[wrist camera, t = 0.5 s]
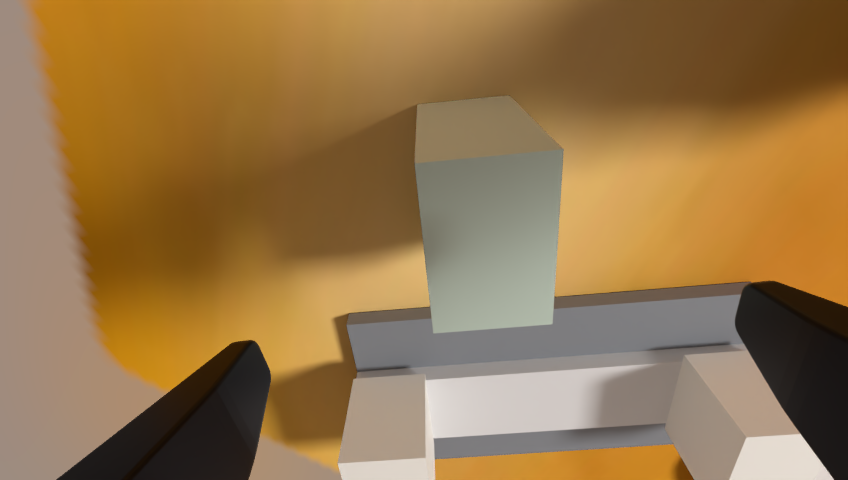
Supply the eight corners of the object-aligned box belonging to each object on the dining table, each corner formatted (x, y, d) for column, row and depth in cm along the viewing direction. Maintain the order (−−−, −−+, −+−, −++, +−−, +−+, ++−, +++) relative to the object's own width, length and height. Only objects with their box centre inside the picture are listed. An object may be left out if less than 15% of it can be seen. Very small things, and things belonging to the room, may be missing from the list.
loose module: (509, 95, 18) (563, 149, 11) (509, 219, 21) (552, 324, 14) (417, 104, 18) (414, 163, 11) (429, 226, 21) (433, 333, 14)
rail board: (750, 281, 23) (870, 381, 17) (702, 428, 29) (778, 542, 23) (349, 313, 24) (323, 418, 18) (380, 449, 30) (368, 564, 24)
